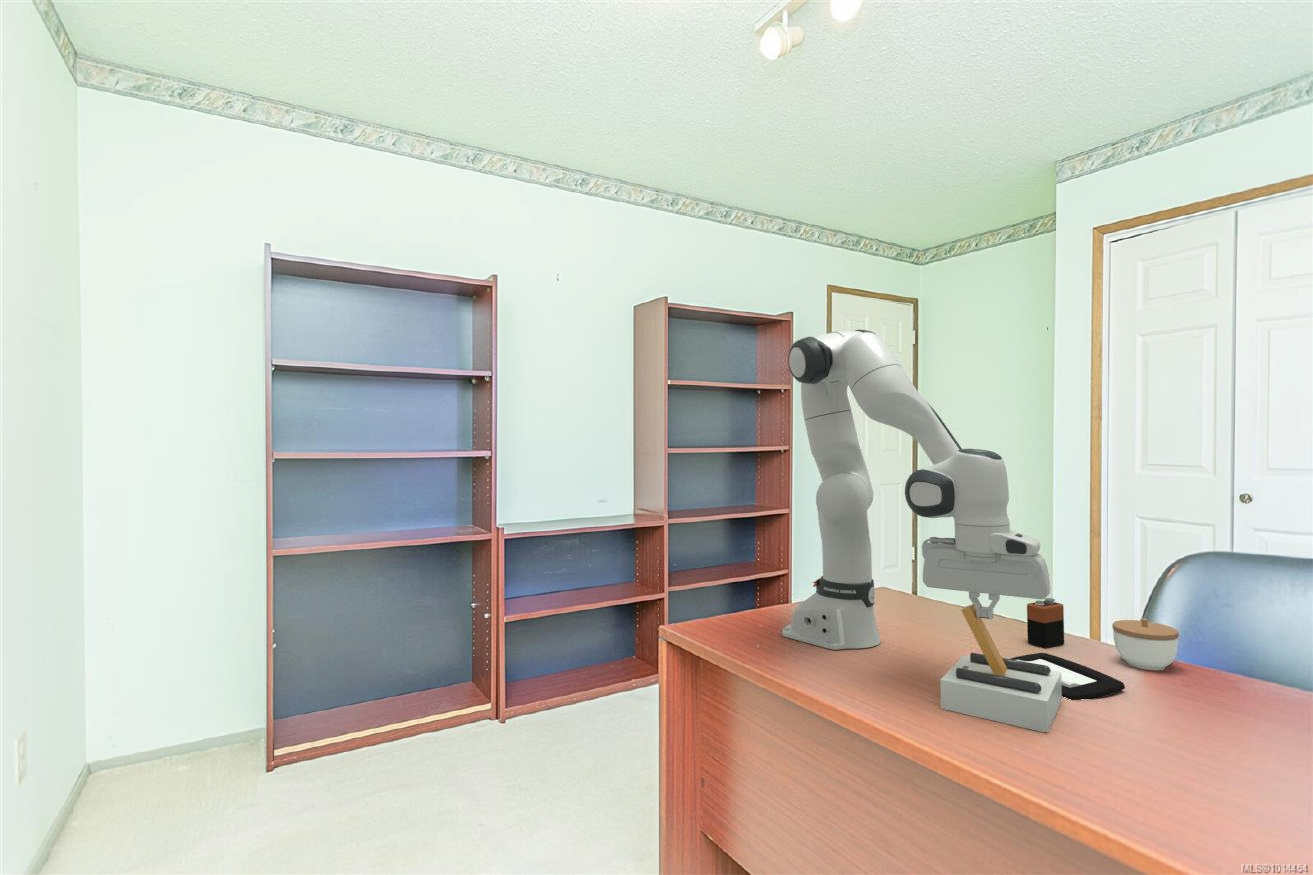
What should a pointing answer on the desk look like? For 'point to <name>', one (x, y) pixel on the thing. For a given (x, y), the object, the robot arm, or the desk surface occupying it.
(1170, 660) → the lidded jar
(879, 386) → the robot arm
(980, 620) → the lever
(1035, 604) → the battery
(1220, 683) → the desk surface
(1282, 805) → the desk surface
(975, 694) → the box
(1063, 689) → the black picture frame
